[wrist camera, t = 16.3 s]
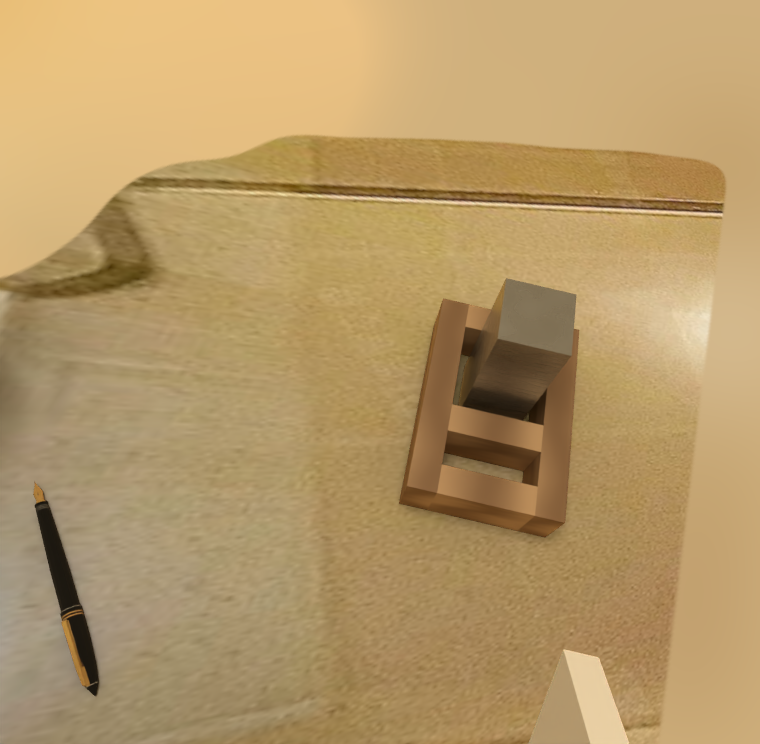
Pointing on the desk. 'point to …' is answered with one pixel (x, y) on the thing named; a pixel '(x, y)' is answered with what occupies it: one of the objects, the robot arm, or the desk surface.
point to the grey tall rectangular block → (519, 349)
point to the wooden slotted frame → (488, 440)
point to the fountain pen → (67, 598)
